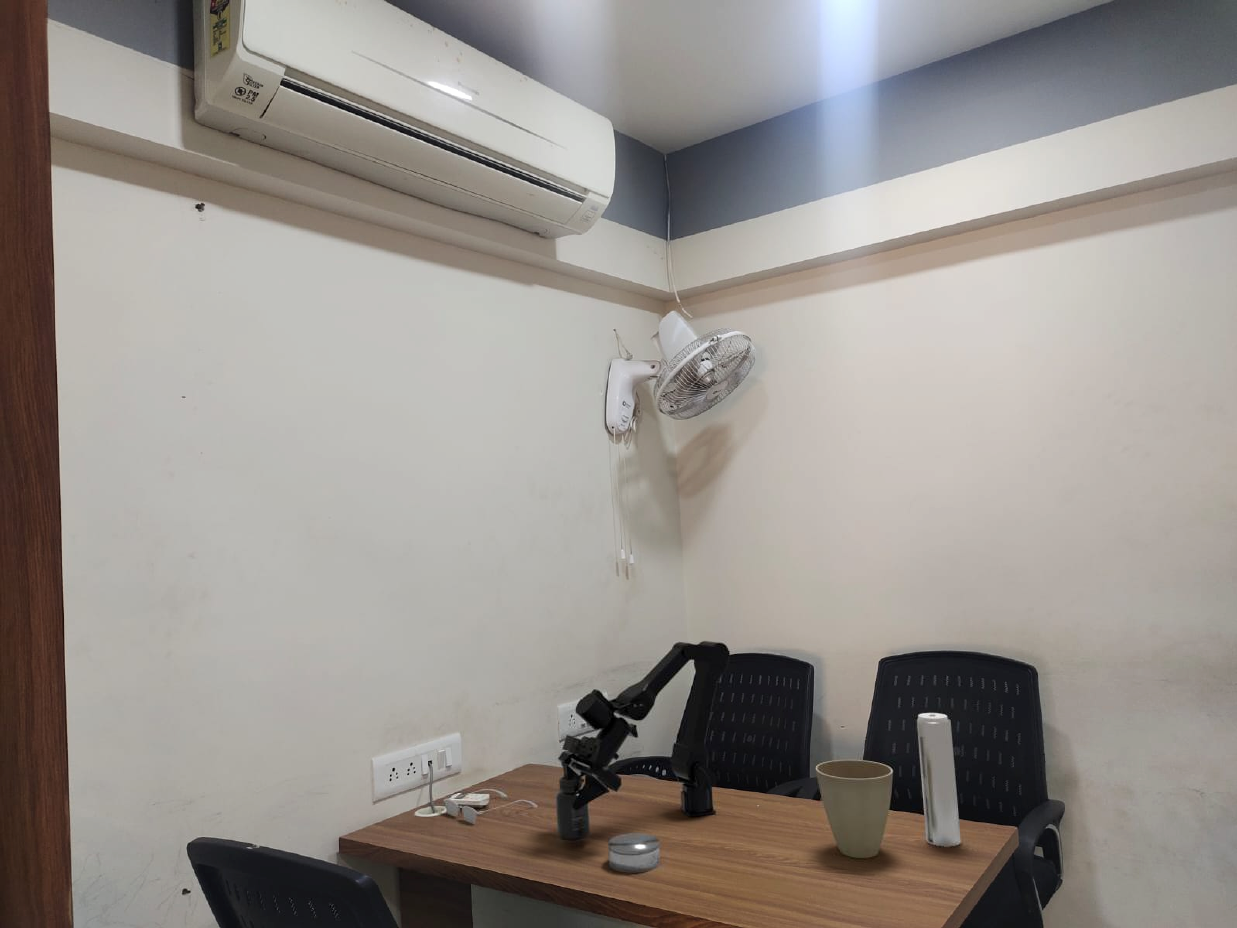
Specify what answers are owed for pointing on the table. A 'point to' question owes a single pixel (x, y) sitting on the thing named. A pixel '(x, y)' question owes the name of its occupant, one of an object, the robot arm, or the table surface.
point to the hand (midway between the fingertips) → (566, 804)
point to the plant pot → (856, 803)
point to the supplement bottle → (571, 810)
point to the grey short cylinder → (634, 852)
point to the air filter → (938, 780)
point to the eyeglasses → (470, 812)
